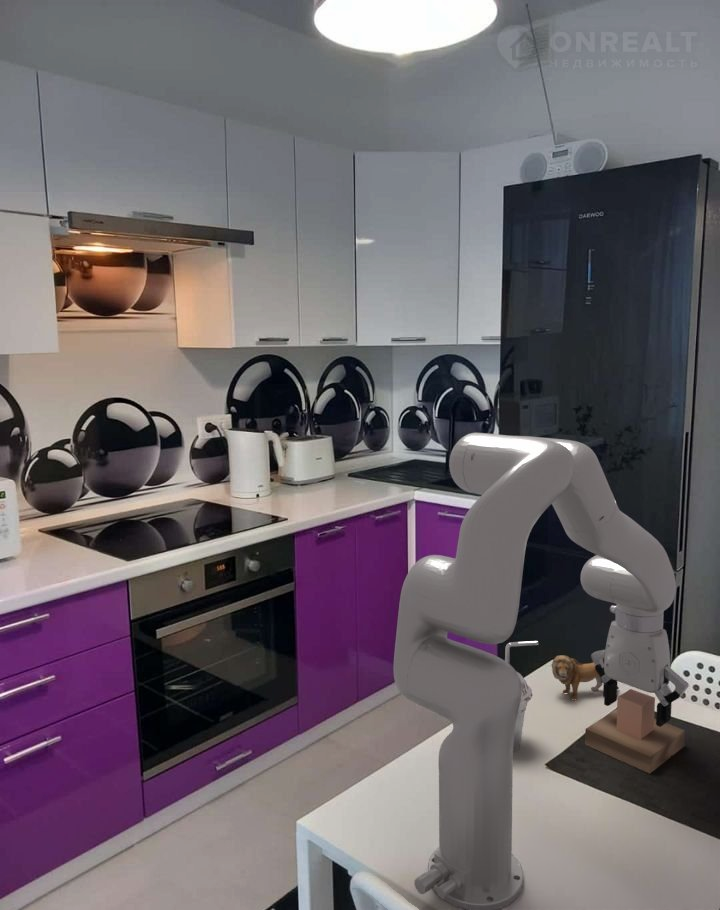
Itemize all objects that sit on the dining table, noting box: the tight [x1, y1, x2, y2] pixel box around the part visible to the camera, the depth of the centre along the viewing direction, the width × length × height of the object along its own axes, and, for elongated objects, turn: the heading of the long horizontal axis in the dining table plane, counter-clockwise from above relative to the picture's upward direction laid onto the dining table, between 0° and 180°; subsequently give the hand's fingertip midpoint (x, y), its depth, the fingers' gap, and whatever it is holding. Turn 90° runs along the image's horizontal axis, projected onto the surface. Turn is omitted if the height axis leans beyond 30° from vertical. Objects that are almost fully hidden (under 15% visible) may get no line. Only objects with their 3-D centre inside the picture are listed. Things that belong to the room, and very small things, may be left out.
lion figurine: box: [551, 654, 620, 701], centre depth 147 cm, size 15×5×9 cm, turn 104°
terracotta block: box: [616, 688, 656, 739], centre depth 129 cm, size 4×4×6 cm
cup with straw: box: [504, 640, 540, 752], centre depth 129 cm, size 8×9×20 cm
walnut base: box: [584, 708, 686, 775], centre depth 129 cm, size 12×12×3 cm
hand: (635, 713), depth 129 cm, fingers open, 9 cm apart
